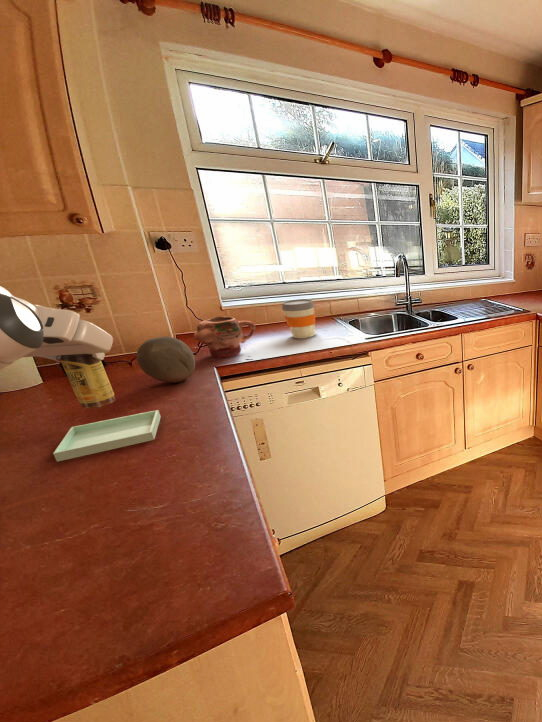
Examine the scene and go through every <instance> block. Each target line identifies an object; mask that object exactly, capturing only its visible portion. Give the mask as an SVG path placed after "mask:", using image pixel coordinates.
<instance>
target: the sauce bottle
mask: <svg viewBox="0 0 542 722" xmlns="http://www.w3.org/2000/svg"><path fill="white" fill-rule="evenodd" d="M90 355H91V354H73V355H61V362H60V363H61V365H62V368H63V369H64V372H65V374H66V377H67V379H68V381H69V383H70V386H71V388H72V390H73V392H74V396H75V397H76V399H77V402H78V403H79V404H80V406H81V408H83V409H85V410H88V409H89V410H90V409H92V410H93V409H100V408H102V407H105V406H108V405H112V404H113V403H115V402H116V397H115V392H114V390H113V388H112V384H111V382H110V379H109V377H108V375H107V372H106V369H105V367H104V365H103V362H102V360H94V359H92V358H90Z"/></svg>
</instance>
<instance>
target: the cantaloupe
mask: <svg viewBox="0 0 542 722" xmlns="http://www.w3.org/2000/svg"><path fill="white" fill-rule="evenodd" d="M136 363H137V365H138V367H139V368H140V369H141V371H143V373H144V374H146V375H147V376H148V377H150V378H153V379H155V380H157V381H159V382H164V383H171V384H172V383H181V382H184V381H185V380H187V379H188V378H189V377H192V375H193V374H194V372H195V370H196V359H195V355H194V352H193V351H192V349H191V348H190V347H189V346H188V345H187V344H186V343H185V342H184V341H182V340H181V339H178V338H177V337H176V338H175V337H172V336H161V337H160V336H159V337H154V338H153V337H152V338H149V339H147V340H145V341H144V342H143V343H142V344H141V345H140V346H139V347H138V349H137V350H136Z"/></svg>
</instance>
